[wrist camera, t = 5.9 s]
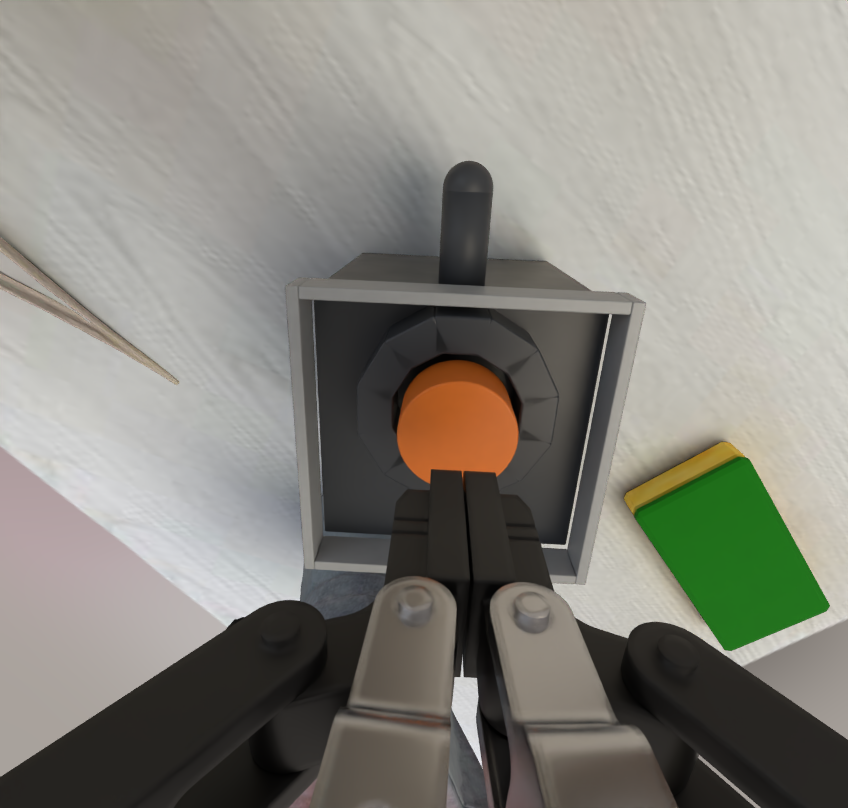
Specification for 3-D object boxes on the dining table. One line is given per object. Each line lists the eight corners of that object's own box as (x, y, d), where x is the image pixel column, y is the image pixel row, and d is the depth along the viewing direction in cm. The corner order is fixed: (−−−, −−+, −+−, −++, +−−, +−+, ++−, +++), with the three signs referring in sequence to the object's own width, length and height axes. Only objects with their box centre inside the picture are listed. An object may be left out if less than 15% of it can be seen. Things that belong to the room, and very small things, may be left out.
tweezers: (-118, 211, 27) (-156, 214, 25) (-88, 137, 26) (-127, 135, 24) (170, 400, 32) (155, 413, 30) (208, 347, 31) (195, 358, 29)
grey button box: (363, 420, 31) (312, 565, 19) (362, 252, 27) (296, 300, 15) (525, 428, 31) (578, 580, 19) (547, 261, 27) (632, 317, 15)
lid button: (400, 455, 17) (395, 487, 15) (403, 356, 16) (397, 378, 14) (504, 460, 17) (511, 493, 15) (516, 361, 16) (526, 384, 14)
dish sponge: (726, 437, 30) (749, 457, 28) (807, 583, 34) (833, 610, 32) (620, 493, 32) (633, 516, 30) (709, 626, 36) (727, 654, 34)
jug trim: (348, 450, 28) (304, 569, 19) (341, 165, 22) (274, 147, 13) (540, 460, 28) (585, 585, 19) (583, 175, 22) (677, 163, 13)
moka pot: (477, 590, 36) (513, 1013, 17) (265, 577, 36) (77, 980, 18) (490, 476, 32) (552, 860, 14) (252, 462, 32) (-3, 821, 14)
